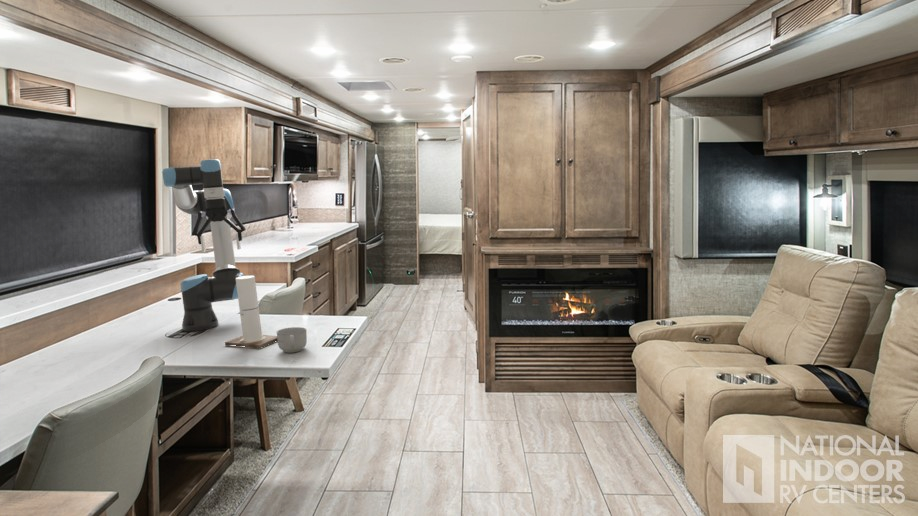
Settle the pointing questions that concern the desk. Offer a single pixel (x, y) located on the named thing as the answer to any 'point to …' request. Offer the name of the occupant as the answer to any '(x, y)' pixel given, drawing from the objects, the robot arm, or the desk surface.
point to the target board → (255, 344)
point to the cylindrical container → (249, 308)
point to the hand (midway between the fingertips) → (221, 250)
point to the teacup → (292, 339)
